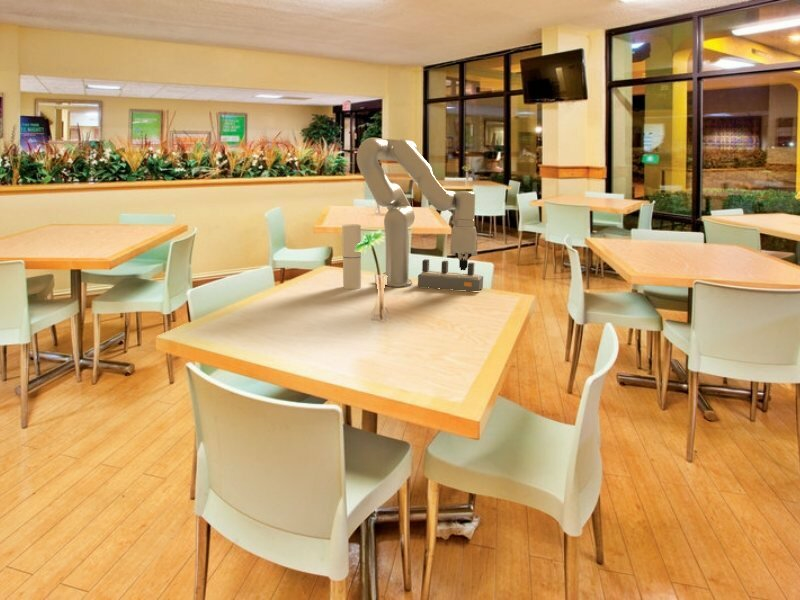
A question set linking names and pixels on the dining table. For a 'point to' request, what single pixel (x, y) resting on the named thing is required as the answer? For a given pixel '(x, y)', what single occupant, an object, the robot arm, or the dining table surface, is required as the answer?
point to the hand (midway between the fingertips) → (463, 269)
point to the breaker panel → (450, 280)
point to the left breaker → (425, 265)
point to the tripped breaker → (470, 268)
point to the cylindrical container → (351, 256)
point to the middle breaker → (444, 267)
